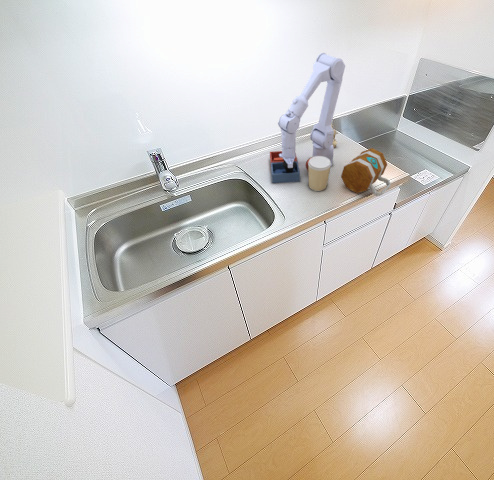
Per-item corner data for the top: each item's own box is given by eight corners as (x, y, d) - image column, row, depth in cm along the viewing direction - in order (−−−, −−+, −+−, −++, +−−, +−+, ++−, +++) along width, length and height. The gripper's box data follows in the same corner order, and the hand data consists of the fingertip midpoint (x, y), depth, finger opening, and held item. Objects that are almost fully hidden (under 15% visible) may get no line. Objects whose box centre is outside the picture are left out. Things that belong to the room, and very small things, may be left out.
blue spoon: (294, 172, 126) (294, 166, 124) (295, 177, 123) (295, 172, 121) (274, 173, 126) (274, 168, 124) (274, 178, 123) (274, 173, 121)
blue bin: (271, 171, 128) (270, 162, 124) (297, 169, 128) (297, 161, 125) (272, 183, 122) (272, 174, 118) (299, 181, 122) (300, 172, 119)
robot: (337, 141, 145) (341, 113, 134) (336, 149, 140) (340, 120, 129) (317, 139, 147) (320, 111, 136) (315, 147, 141) (318, 118, 130)
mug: (353, 155, 106) (371, 141, 114) (335, 176, 118) (352, 161, 126) (388, 192, 106) (404, 175, 114) (366, 209, 117) (382, 192, 125)
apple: (317, 179, 123) (318, 164, 117) (302, 174, 126) (302, 158, 120) (325, 170, 128) (327, 155, 122) (310, 165, 131) (311, 150, 125)
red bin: (270, 160, 134) (269, 151, 131) (295, 158, 135) (295, 150, 131) (271, 170, 128) (270, 162, 125) (297, 169, 129) (297, 160, 125)
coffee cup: (331, 182, 122) (334, 158, 113) (323, 194, 116) (326, 170, 107) (311, 177, 124) (313, 153, 115) (303, 188, 119) (304, 164, 110)
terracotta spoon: (274, 166, 129) (274, 161, 127) (273, 161, 132) (273, 156, 130) (293, 165, 130) (293, 160, 128) (292, 160, 133) (292, 155, 131)
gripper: (277, 136, 118) (278, 164, 128) (280, 154, 109) (281, 182, 119) (294, 135, 119) (293, 163, 129) (298, 153, 109) (297, 181, 119)
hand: (288, 172), depth 124 cm, fingers open, 4 cm apart
